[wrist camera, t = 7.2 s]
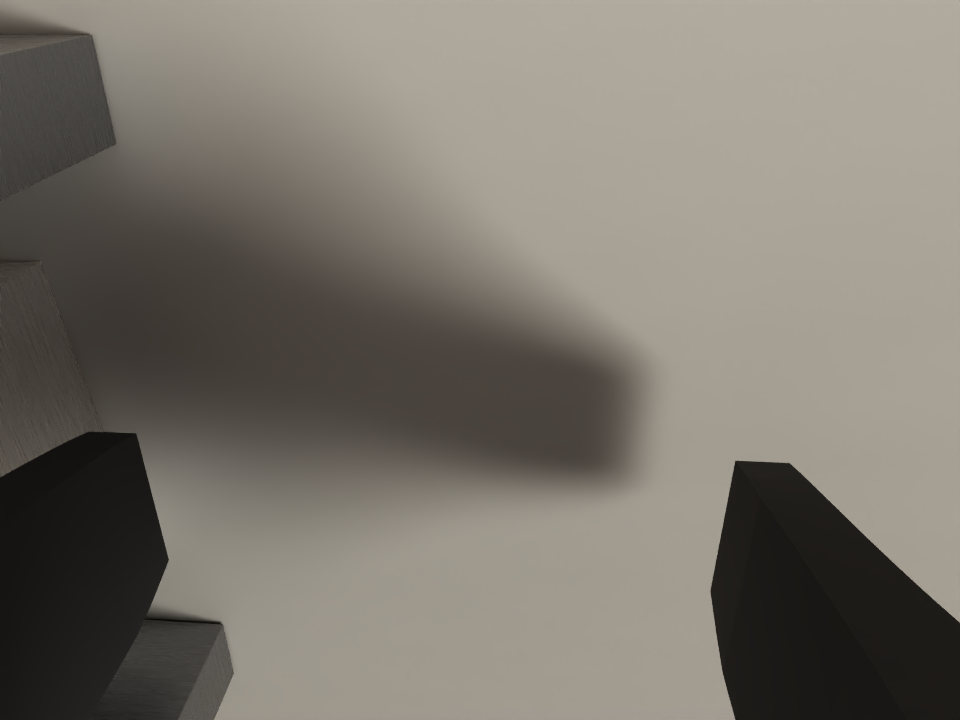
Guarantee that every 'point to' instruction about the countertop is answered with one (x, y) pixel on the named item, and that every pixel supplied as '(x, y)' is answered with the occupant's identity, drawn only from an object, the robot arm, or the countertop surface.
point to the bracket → (19, 164)
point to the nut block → (37, 370)
